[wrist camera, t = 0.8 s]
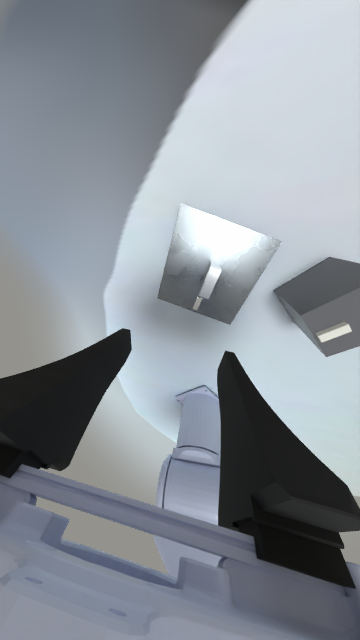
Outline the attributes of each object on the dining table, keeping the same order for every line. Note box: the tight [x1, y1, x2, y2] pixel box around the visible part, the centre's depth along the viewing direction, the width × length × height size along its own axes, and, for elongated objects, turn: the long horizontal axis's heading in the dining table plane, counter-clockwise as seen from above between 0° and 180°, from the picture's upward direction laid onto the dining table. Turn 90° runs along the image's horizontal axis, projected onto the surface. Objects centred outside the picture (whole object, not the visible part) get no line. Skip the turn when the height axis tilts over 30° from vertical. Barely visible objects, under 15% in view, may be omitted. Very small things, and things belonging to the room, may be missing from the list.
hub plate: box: [158, 204, 282, 324], centre depth 15 cm, size 10×10×4 cm
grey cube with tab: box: [274, 257, 360, 357], centre depth 14 cm, size 5×5×6 cm
